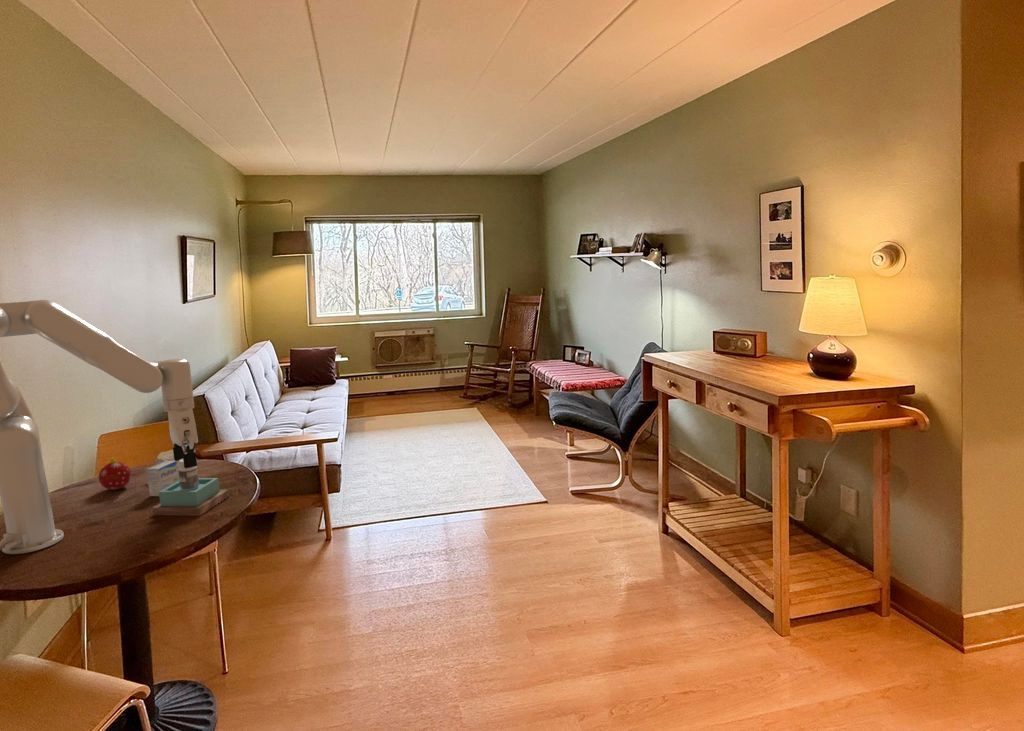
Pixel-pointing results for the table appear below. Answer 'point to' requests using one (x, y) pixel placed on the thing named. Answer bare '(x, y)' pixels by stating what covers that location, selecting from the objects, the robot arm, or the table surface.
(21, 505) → the robot arm
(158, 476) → the medicine box
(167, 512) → the walnut slab
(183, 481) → the pill bottle
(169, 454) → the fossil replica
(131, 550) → the table surface
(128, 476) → the christmas ornament
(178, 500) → the teal tray
